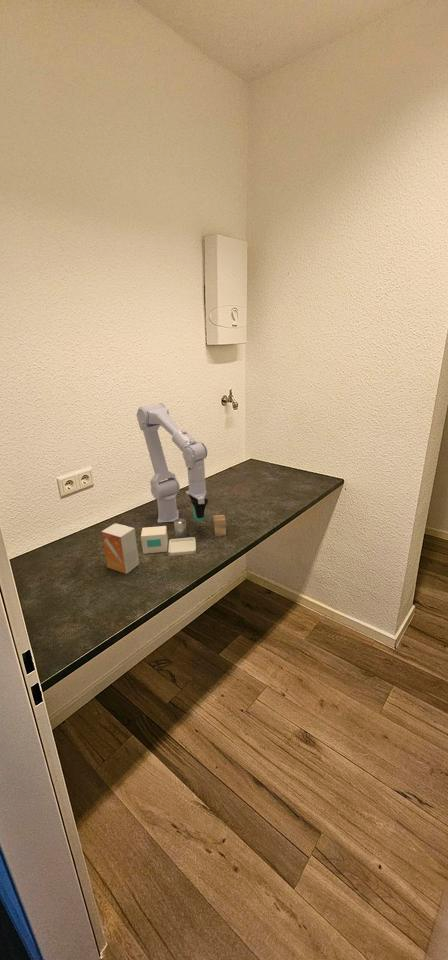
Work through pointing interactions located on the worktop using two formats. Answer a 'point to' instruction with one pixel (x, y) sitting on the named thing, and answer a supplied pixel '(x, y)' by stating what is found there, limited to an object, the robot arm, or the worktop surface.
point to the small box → (120, 548)
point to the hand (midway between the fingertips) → (199, 514)
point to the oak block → (219, 525)
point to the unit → (154, 539)
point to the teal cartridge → (196, 516)
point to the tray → (182, 546)
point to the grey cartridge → (180, 528)
